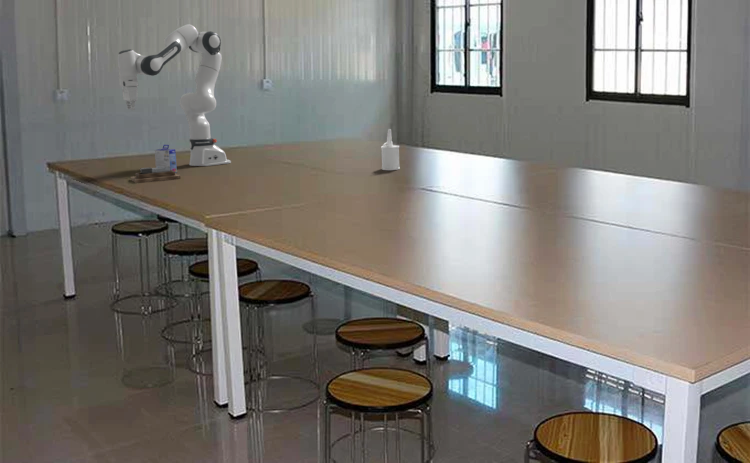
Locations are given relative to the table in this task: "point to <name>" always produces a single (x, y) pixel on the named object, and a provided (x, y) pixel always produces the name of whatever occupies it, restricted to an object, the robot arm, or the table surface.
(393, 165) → the white glue bottle
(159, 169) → the two-tone gray stick
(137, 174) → the cradle
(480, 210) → the table surface
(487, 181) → the table surface
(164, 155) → the ink cartridge box
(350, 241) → the table surface
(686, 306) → the table surface
